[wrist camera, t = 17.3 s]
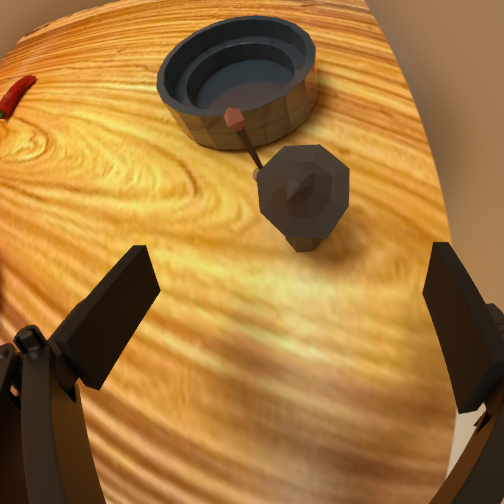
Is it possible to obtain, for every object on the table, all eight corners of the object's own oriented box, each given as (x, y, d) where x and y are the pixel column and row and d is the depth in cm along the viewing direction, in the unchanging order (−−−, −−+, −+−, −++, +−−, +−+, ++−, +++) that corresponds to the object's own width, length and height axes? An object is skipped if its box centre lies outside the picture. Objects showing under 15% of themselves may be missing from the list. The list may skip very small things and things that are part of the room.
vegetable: (-1, 115, 40) (34, 71, 43) (-14, 111, 39) (20, 69, 43) (8, 127, 44) (40, 85, 47) (-5, 122, 43) (26, 82, 47)
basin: (337, 67, 29) (336, 27, 24) (280, 173, 27) (270, 135, 22) (222, 46, 34) (209, 12, 28) (154, 133, 32) (128, 101, 26)
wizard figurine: (350, 216, 25) (371, 131, 14) (325, 277, 24) (333, 229, 13) (263, 183, 27) (227, 93, 16) (235, 238, 27) (177, 172, 15)
